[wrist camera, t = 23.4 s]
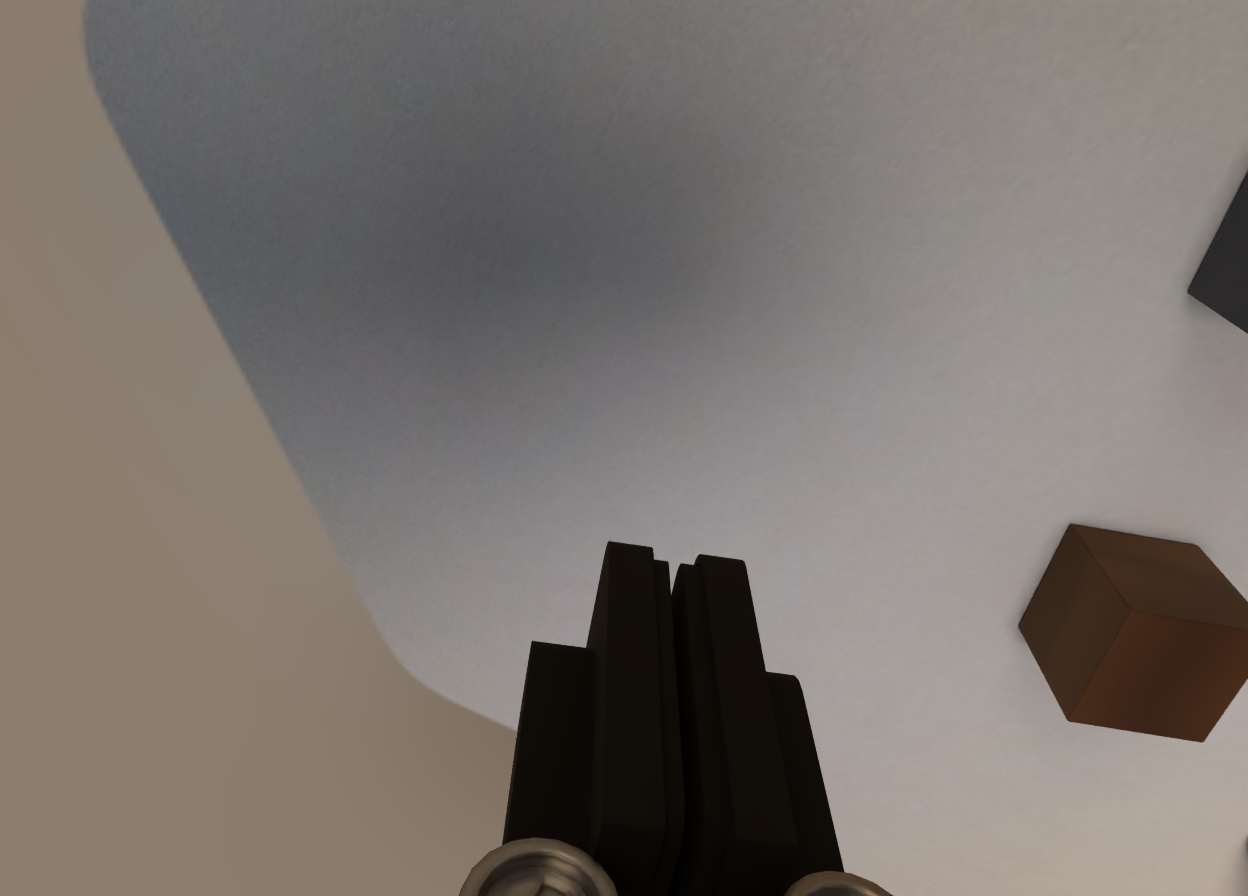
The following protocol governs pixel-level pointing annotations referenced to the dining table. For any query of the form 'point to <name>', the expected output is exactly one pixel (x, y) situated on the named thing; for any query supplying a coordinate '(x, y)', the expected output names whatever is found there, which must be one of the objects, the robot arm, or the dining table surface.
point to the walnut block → (1138, 634)
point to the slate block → (1227, 266)
